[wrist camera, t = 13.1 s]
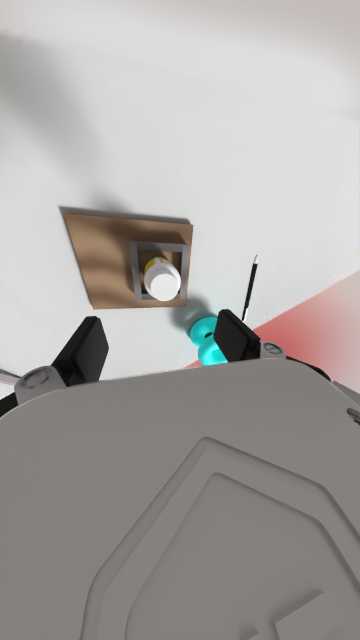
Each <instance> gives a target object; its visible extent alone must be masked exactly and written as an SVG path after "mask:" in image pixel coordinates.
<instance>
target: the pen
mask: <svg viewBox="0 0 360 640" xmlns="http://www.w3.org/2000/svg"><path fill="white" fill-rule="evenodd" d="M257 264H258V255H257V256H256V259H255V261H254V264H253V269H252V273H251V278H250V283H249V288H248V293H247V298H246V303H245V308H244V312H243V317H242V322H243V323H244V322H245V320H246V316H247V312H248V305H249V300H250V296H251V291H252V287H253V282H254V278H255V273H256V269H257Z"/></svg>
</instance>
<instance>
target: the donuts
mask: <svg viewBox="0 0 360 640" xmlns="http://www.w3.org/2000/svg"><path fill="white" fill-rule="evenodd" d="M216 322H217V318H215V317H206V318H203V319H201V320H199V321H197V322H196V323H195V324H194V325H193V327H192V329H191V332H190V338H191V341H192V342H193V343H194V344H195V345H196V346H198V347H199V349H198V358H199V360H200V361H201V363H203V364H204V365H213V364H220V363H227V362H228V361H227V360H226V358H225V357H224V355H223V353H222V352H221V350H220V349H219V348H218V346H217V344H216V342H215V341H214V339H213V335H214V331H215V326H216ZM210 332H213V333H212V334H211V335H210V336H208V337H205V335H206V334H207V333H210ZM216 348H218V349H216ZM215 349H216V350H215Z"/></svg>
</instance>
